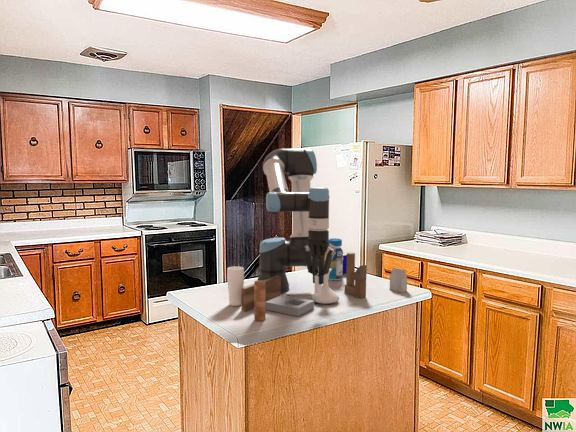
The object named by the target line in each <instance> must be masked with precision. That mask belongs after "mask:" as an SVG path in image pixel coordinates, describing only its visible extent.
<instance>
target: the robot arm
mask: <svg viewBox="0 0 576 432" xmlns="http://www.w3.org/2000/svg"><path fill="white" fill-rule="evenodd" d="M317 163H318V162H317V157H316V154H315V152H314V150H313V149H310V148H304V147H303V148H278V149H275V150H272V151H270V153H268V155H266V156H265V158H264V160H263V162H262V171H263V174H264V175H266V181H267V186H268V191H269V192H266V195H265V196H266V197H265V206H266V207H265V208H266V210H267V212H275V213H280V212H281V213H282V212H283V213H284V212H286V213H287V212H291V213H292V214H291V215H292V216H291V217H292V234H291V235H290V236H289V240H286V238H285V237H272V238H271V237H270V238H266V239H263V240H262V241H261V242H260V243H259V252H258V253H259V274H258V276H257V280H256V281H258V280H262V281H263V280H266V279H269V278H272V277H275V276H281V294H282V293H286V292H289V290H290V283H289V281H288V277H287V274H286V267H306V268H307V273H310V274H311V275H312V283H313V284H314V293H320V292H322V285H323V283H324V275H325V274H328V273H329V268H330V264H331V260H332V256H333V254H334V252H335V249H332V248H330V247H329V243H328V240H329V239H330V234H329V233H330V231H329V230H328V229H329V228H330V221H329V220H330V218H329V217H330V216H329V214H330V190H329V188H328V187H311V182H312V179H314V175H316V174H317V171H318V164H317ZM285 175H287V176H288V180H290V182H291V191H289V188H288V184H287V181H286V180H287V179H286V176H285ZM326 251H327V256H326V260H325V264H324V257H325V252H326Z"/></svg>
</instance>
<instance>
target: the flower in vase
mask: <svg viewBox="0 0 576 432" xmlns="http://www.w3.org/2000/svg"><path fill="white" fill-rule="evenodd" d="M329 247H330V248H332V249H335V247H334V246H333V245H332V244H330V243H329ZM335 251H336V250H335ZM335 254H336V252H334V254H333V256H332V257H334V255H335ZM326 256H327V251H326V252H325V257H324V262H325V260H326ZM324 264H325V263H324ZM330 268H336V265H335V263H334V262H332V263H331V264H330ZM330 268H329V273H328V274H325V275H324V283H323V284H322V292H320V293H315V292H314V293H313V294H312V295H311V300H313V301H314V303H315V302H316V303H317V304H325V305H326V304H330V305H331V304H333V303H337V302H339V300H340V297H339V295H338V294H337V293H336V292H335V291H334V290H333V289H331V288H330V286H329V279H328V278H329V274H330V272H331V270H332V269H330Z"/></svg>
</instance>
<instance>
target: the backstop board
mask: <svg viewBox="0 0 576 432" xmlns="http://www.w3.org/2000/svg"><path fill="white" fill-rule="evenodd" d="M263 281H265V302H266V301H269V300H271V299H273V298H276V297H278V296H281V295H282V293H281V276H275V277H272V278H269V279H266V280H263ZM240 306H241V309H240V310H241V312H248V311H250V310H253V309H254V283H251V284H249V285H246V286H243V288H241V305H240Z"/></svg>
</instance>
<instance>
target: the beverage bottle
mask: <svg viewBox="0 0 576 432" xmlns="http://www.w3.org/2000/svg"><path fill="white" fill-rule="evenodd" d="M342 241H343V240H342V239H341V238H329V240H328V243H330V244H332V245H333V246H334V247H335V250H336V251H335V252H336V254H335V255H334V257H332V260H331V263H332V262H334V263H335V265H336V268H330V269H332V270H331V272H330V274H329V278H328V281H341V280H343V277H344V276H343V275H344V274H342V272H343V256H342V255H343V253H344V251H343V249H342V245H343V242H342Z"/></svg>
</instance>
